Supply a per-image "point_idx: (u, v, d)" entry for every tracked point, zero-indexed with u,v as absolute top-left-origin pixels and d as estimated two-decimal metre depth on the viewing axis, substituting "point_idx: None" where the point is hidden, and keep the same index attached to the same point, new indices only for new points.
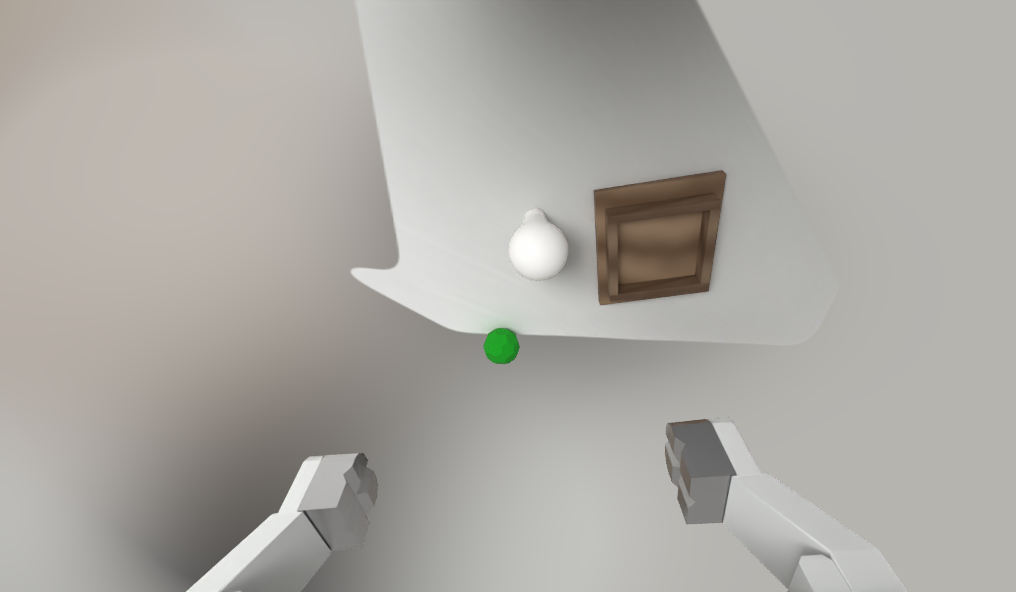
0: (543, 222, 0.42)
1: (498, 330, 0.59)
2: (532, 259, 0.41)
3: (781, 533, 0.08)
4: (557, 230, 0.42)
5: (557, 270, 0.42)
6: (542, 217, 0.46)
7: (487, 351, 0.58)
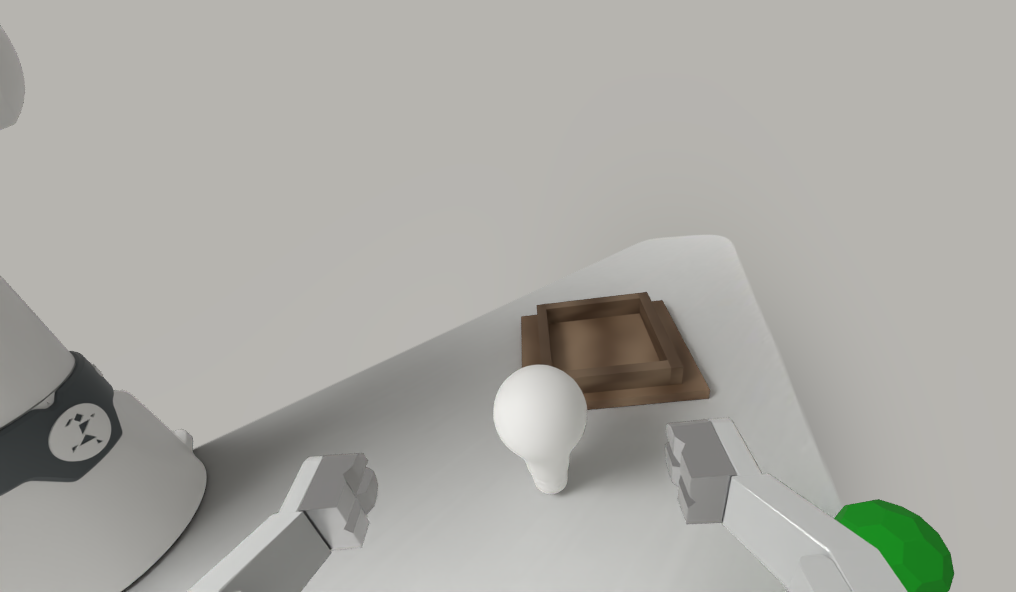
0: None
1: None
2: (520, 387, 0.26)
3: (781, 533, 0.08)
4: None
5: (552, 367, 0.28)
6: None
7: (906, 571, 0.21)
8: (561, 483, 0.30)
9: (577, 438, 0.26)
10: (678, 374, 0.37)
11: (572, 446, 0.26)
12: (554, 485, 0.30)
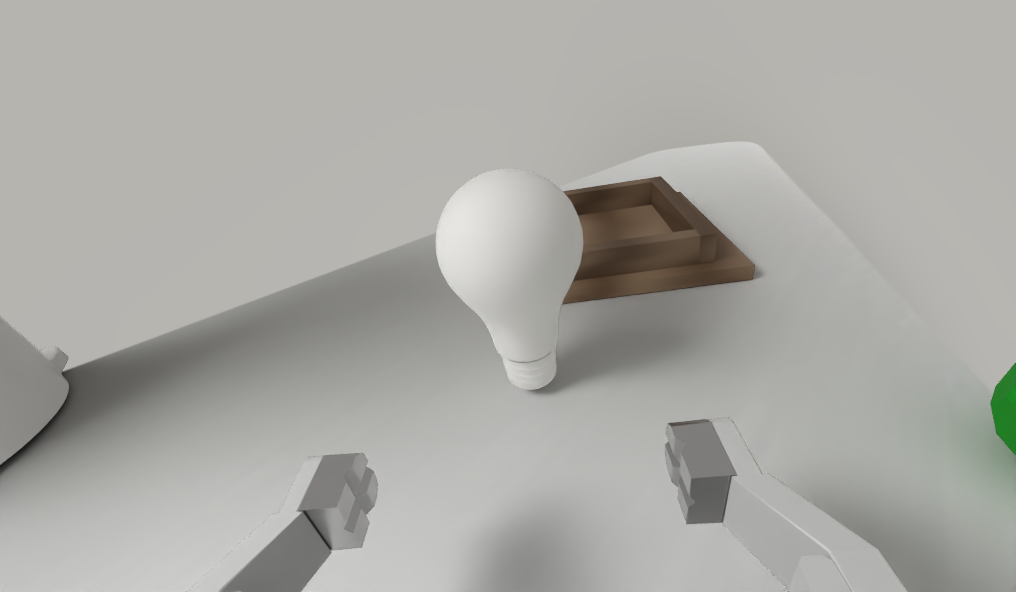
0: None
1: None
2: (474, 185, 0.16)
3: (781, 533, 0.08)
4: None
5: None
6: None
7: None
8: (546, 371, 0.20)
9: (567, 267, 0.16)
10: (710, 246, 0.27)
11: (559, 281, 0.16)
12: (535, 371, 0.20)
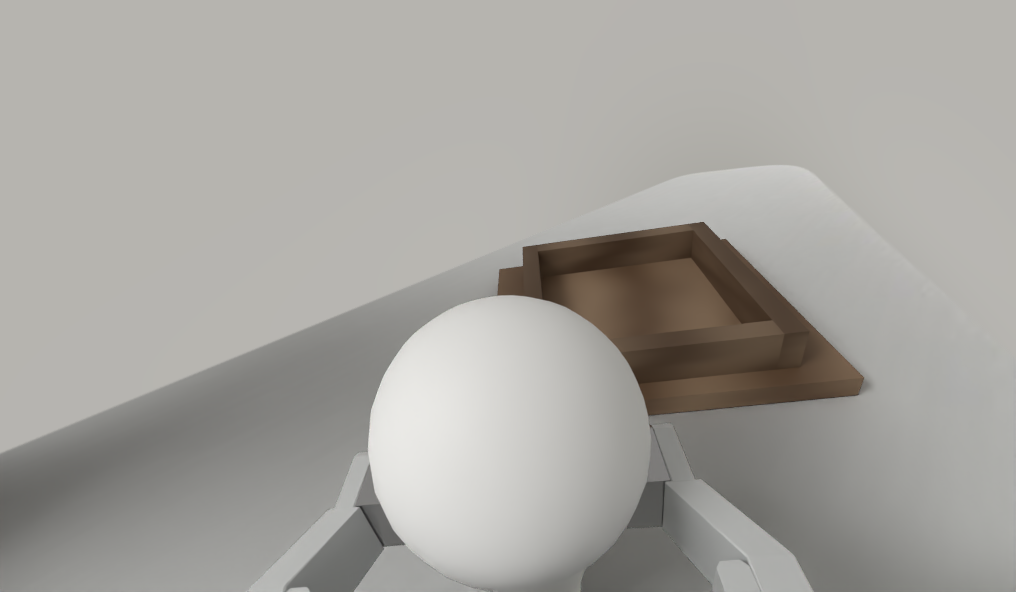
0: None
1: None
2: (440, 351, 0.08)
3: (708, 538, 0.08)
4: None
5: (547, 301, 0.10)
6: None
7: None
8: None
9: (626, 521, 0.08)
10: (796, 347, 0.18)
11: (608, 546, 0.08)
12: None
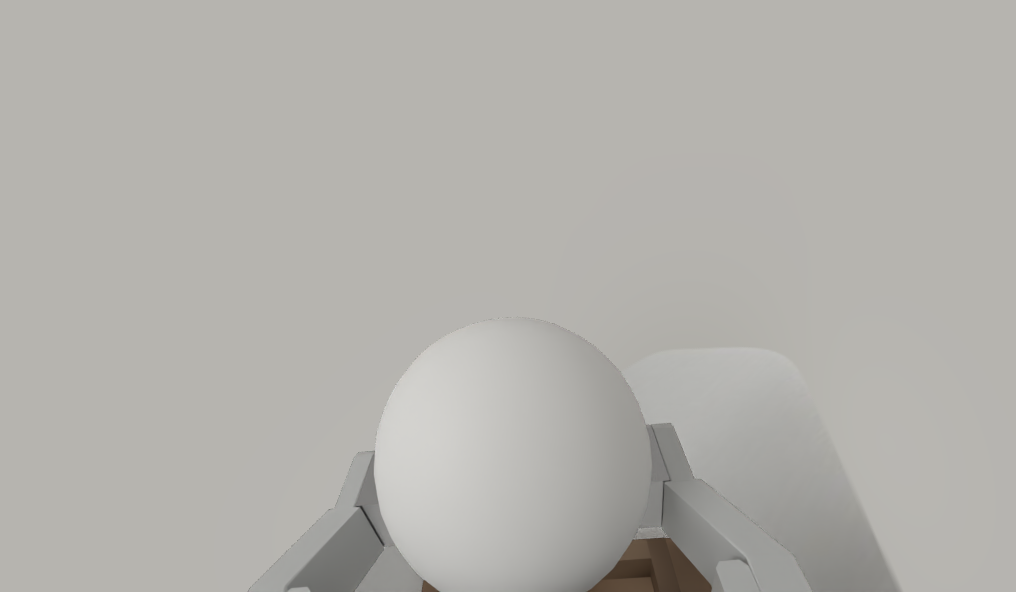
0: None
1: None
2: (443, 384, 0.08)
3: (708, 538, 0.08)
4: None
5: (550, 323, 0.10)
6: None
7: None
8: None
9: (625, 547, 0.08)
10: None
11: (608, 571, 0.08)
12: None
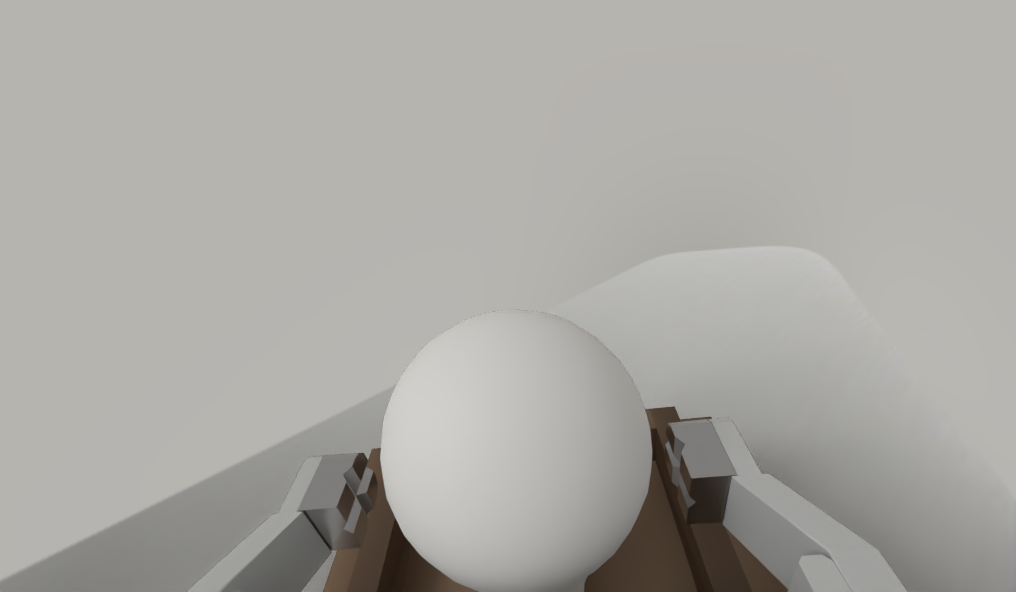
0: None
1: None
2: (450, 366, 0.08)
3: (781, 533, 0.08)
4: None
5: (553, 315, 0.10)
6: None
7: None
8: None
9: (627, 531, 0.08)
10: None
11: (610, 555, 0.08)
12: None
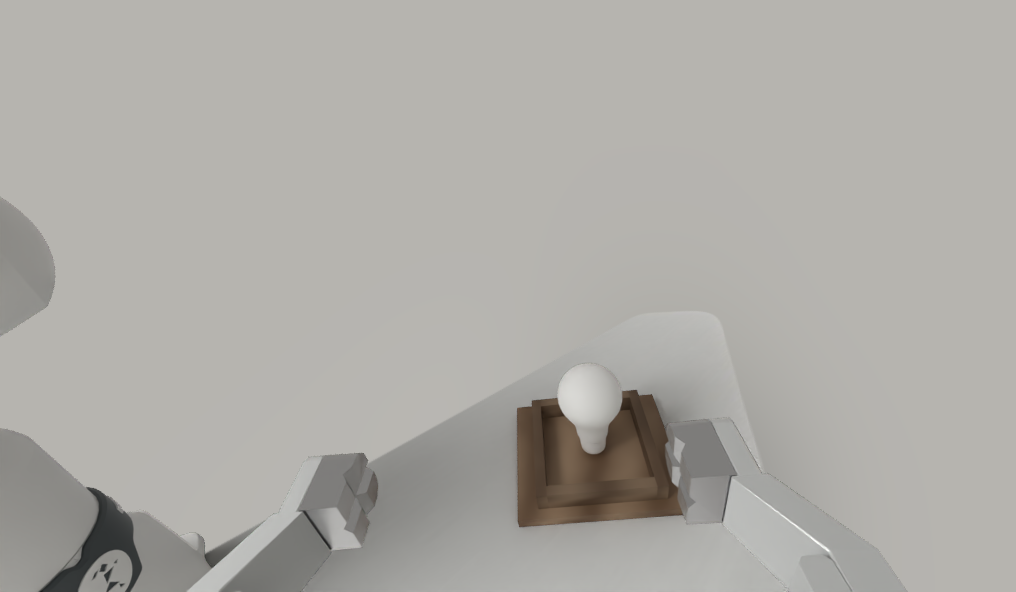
0: None
1: None
2: (578, 378, 0.39)
3: (781, 533, 0.08)
4: None
5: None
6: None
7: None
8: (601, 446, 0.43)
9: (616, 412, 0.39)
10: (664, 491, 0.39)
11: (612, 417, 0.39)
12: (597, 447, 0.43)
